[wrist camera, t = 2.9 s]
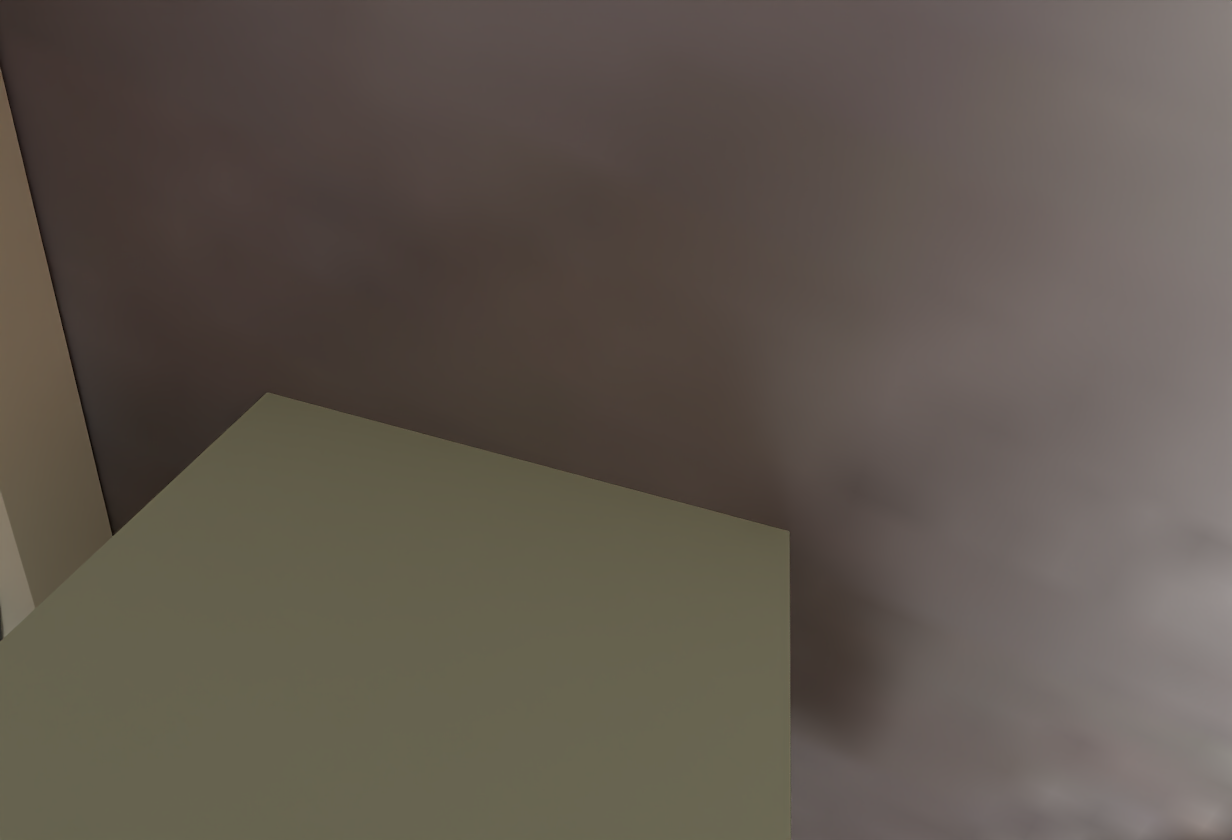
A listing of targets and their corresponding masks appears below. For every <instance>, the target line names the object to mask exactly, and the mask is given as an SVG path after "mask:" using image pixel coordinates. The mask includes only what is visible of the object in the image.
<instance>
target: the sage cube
mask: <svg viewBox="0 0 1232 840" xmlns="http://www.w3.org/2000/svg"><path fill="white" fill-rule="evenodd" d="M0 840H791V727H790V531H787V530H783V529H779V528H775V527H772V526H768V525H764V524H760V523H757V522H753V521H749V520H745V519H742V518H738V517H734V516H730V515H727V514H723V513H719V512H715V511H712V510H708V509H704V508H700V507H697V506H693V505H689V504H685V503H681V502H678V501H674V500H670V499H666V498H663V497H659V496H655V495H651V494H648V493H644V492H640V491H636V490H633V489H629V488H625V487H621V486H618V485H614V484H610V483H606V482H603V481H599V480H595V479H591V478H588V477H584V476H580V475H576V474H573V473H569V472H565V471H561V470H558V469H554V468H550V467H546V466H542V465H539V464H535V463H531V462H527V461H524V460H520V459H516V458H512V457H509V456H505V455H501V454H497V453H494V452H490V451H486V450H482V449H479V448H475V447H471V446H467V445H464V444H460V443H456V442H452V441H449V440H445V439H441V438H437V437H434V436H430V435H426V434H422V433H419V432H415V431H411V430H407V429H404V428H400V427H396V426H392V425H388V424H385V423H381V422H377V421H373V420H370V419H366V418H362V417H358V416H355V415H351V414H347V413H343V412H340V411H336V410H332V409H328V408H325V407H321V406H317V405H313V404H310V403H306V402H302V401H298V400H295V399H291V398H287V397H283V396H280V395H276V394H272V393H268V392H267V393H266V394H265V395H264V396H263V397H262V398H260V399H259V400H258V401H257V402H256V403H255V404H254V405H253V406H252V407H251V408H250V409H249V410H248V411H246V412H245V413H244V414H243V415H242V416H241V417H240V418H239V419H238V420H237V421H236V422H235V423H234V424H233V425H231V426H230V427H229V428H228V429H227V430H226V431H225V432H224V433H223V434H222V435H221V436H220V437H219V438H218V439H216V440H215V441H214V442H213V443H212V444H211V445H210V446H209V447H208V448H207V449H206V450H205V451H204V452H203V453H201V454H200V455H199V456H198V457H197V458H196V459H195V460H194V461H193V462H192V463H191V464H190V465H189V466H188V467H186V468H185V469H184V470H183V471H182V472H181V473H180V474H179V475H178V476H177V477H176V478H175V479H174V480H173V481H171V482H170V483H169V484H168V485H167V486H166V487H165V488H164V489H163V490H162V491H161V492H160V493H159V494H158V495H156V496H155V497H154V498H153V499H152V500H151V501H150V502H149V503H148V504H147V505H146V506H145V507H144V508H143V509H141V510H140V511H139V512H138V513H137V514H136V515H135V516H134V517H133V518H132V519H131V520H130V521H129V522H128V523H126V524H125V525H124V526H123V527H122V528H121V529H120V530H119V531H118V532H117V533H116V534H115V535H114V536H113V537H111V538H110V539H109V540H108V541H107V542H106V543H105V544H104V545H103V546H102V547H101V548H100V549H99V550H98V551H96V552H95V553H94V554H93V555H92V556H91V557H90V558H89V559H88V560H87V561H86V562H85V563H84V564H83V565H81V566H80V567H79V568H78V569H77V570H76V571H75V572H74V573H73V574H72V575H71V576H70V577H69V578H68V579H66V580H65V581H64V582H63V583H62V584H61V585H60V586H59V587H58V588H57V589H56V590H55V591H54V592H53V593H51V594H50V595H49V596H48V597H47V598H46V599H45V600H44V601H43V602H42V603H41V604H40V605H39V606H38V607H36V608H35V609H34V610H33V611H32V612H31V613H30V614H29V615H28V616H27V617H26V618H25V619H24V620H23V621H21V622H20V623H19V624H18V625H17V626H16V627H15V628H14V629H13V630H12V631H11V632H10V633H9V634H8V635H6V636H5V637H4V638H3V639H2V640H1V641H0Z"/></svg>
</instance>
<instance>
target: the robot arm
mask: <svg viewBox="0 0 1232 840" xmlns="http://www.w3.org/2000/svg"><path fill="white" fill-rule="evenodd" d="M2 639H3V637H2V629H1V620H0V641H1V640H2Z"/></svg>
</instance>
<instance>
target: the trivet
mask: <svg viewBox="0 0 1232 840" xmlns="http://www.w3.org/2000/svg"><path fill="white" fill-rule="evenodd" d="M111 537H113V536H112V532H111V528H110V524H109V520H108V515H107V511H106V507H105V503H104V499H103V495H102V490H101V486H100V482H99V478H98V474H97V469H96V465H95V461H94V457H93V453H92V449H91V444H90V440H89V436H88V432H87V428H86V424H85V419H84V415H83V411H82V407H81V403H80V398H79V394H78V390H77V386H76V382H75V378H74V373H73V369H72V365H71V361H70V357H69V353H68V348H67V344H66V340H65V336H64V332H63V327H62V323H61V319H60V315H59V311H58V307H57V302H56V298H55V294H54V290H53V286H52V282H51V277H50V273H49V269H48V265H47V261H46V256H45V252H44V248H43V244H42V240H41V236H40V231H39V227H38V223H37V219H36V215H35V211H34V206H33V202H32V198H31V194H30V190H29V185H28V181H27V177H26V173H25V169H24V165H23V160H22V156H21V152H20V148H19V144H18V140H17V135H16V131H15V127H14V123H13V119H12V114H11V110H10V106H9V102H8V98H7V94H6V89H5V85H4V81H3V77H2V73H1V69H0V620H1V629H2V637H3V638H4V637H5V636H6V635H8V634H9V633H10V632H11V631H12V630H13V629H14V628H15V627H16V626H17V625H18V624H19V623H20V622H21V621H23V620H24V619H25V618H26V617H27V616H28V615H29V614H30V613H31V612H32V611H33V610H34V609H35V608H36V607H38V606H39V605H40V604H41V603H42V602H43V601H44V600H45V599H46V598H47V597H48V596H49V595H50V594H51V593H53V592H54V591H55V590H56V589H57V588H58V587H59V586H60V585H61V584H62V583H63V582H64V581H65V580H66V579H68V578H69V577H70V576H71V575H72V574H73V573H74V572H75V571H76V570H77V569H78V568H79V567H80V566H81V565H83V564H84V563H85V562H86V561H87V560H88V559H89V558H90V557H91V556H92V555H93V554H94V553H95V552H96V551H98V550H99V549H100V548H101V547H102V546H103V545H104V544H105V543H106V542H107V541H108V540H109V539H110V538H111Z"/></svg>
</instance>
